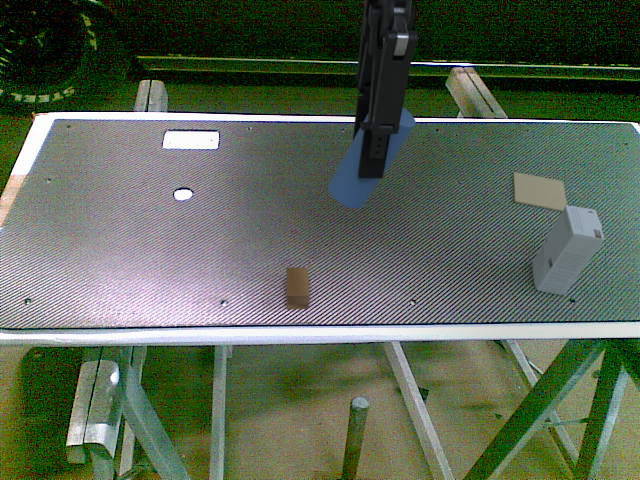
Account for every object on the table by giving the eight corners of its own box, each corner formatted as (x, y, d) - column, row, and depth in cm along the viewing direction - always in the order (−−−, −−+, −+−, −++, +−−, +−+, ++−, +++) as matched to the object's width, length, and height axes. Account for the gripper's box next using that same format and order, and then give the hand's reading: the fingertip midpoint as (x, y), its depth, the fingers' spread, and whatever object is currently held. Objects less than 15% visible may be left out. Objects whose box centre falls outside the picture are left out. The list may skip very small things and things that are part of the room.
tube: (393, 97, 53) (365, 99, 50) (424, 124, 52) (398, 128, 48) (346, 178, 61) (320, 184, 57) (372, 204, 59) (346, 212, 56)
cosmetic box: (530, 262, 74) (562, 202, 65) (560, 267, 73) (596, 208, 65) (535, 292, 69) (570, 232, 61) (567, 298, 69) (606, 238, 60)
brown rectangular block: (307, 281, 68) (308, 267, 66) (308, 309, 65) (309, 295, 63) (286, 281, 68) (286, 267, 66) (286, 309, 65) (286, 295, 63)
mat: (567, 213, 83) (568, 211, 82) (514, 202, 84) (515, 200, 84) (562, 182, 89) (563, 181, 89) (513, 173, 90) (513, 171, 90)
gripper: (343, -99, 45) (328, 120, 61) (371, -47, 32) (342, 213, 48) (421, -95, 45) (385, 121, 62) (479, -43, 33) (414, 212, 49)
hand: (366, 161), depth 55 cm, fingers closed on tube, 5 cm apart
